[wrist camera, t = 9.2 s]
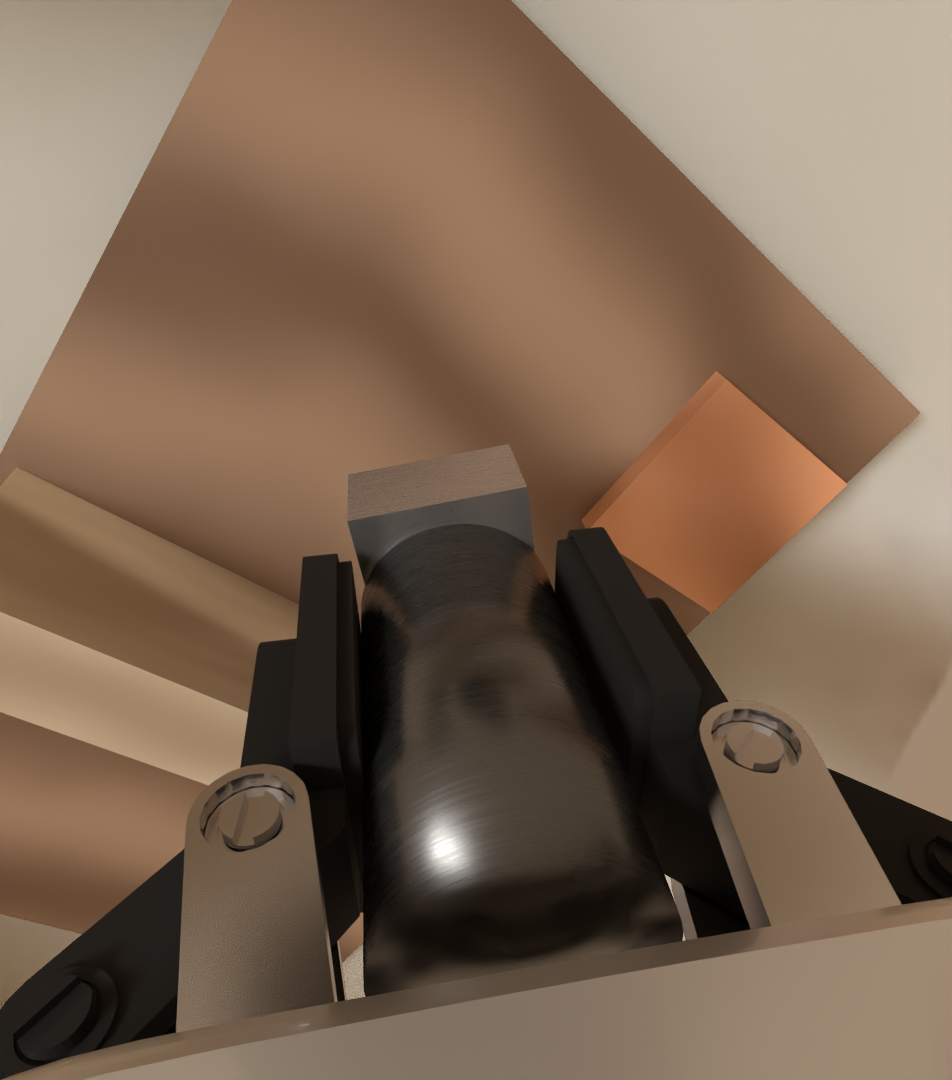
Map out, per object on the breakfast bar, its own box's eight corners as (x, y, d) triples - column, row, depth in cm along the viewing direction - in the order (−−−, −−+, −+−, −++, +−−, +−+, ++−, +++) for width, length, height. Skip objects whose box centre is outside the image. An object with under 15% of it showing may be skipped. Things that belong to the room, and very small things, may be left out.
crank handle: (597, 903, 20) (707, 1278, 14) (440, 936, 20) (479, 1333, 14) (554, 435, 13) (753, 790, 6) (302, 483, 13) (243, 898, 6)
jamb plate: (314, 960, 31) (306, 1122, 26) (-184, 829, 23) (-326, 1023, 18) (892, 396, 20) (1057, 492, 16) (329, -164, 13) (312, -311, 8)
